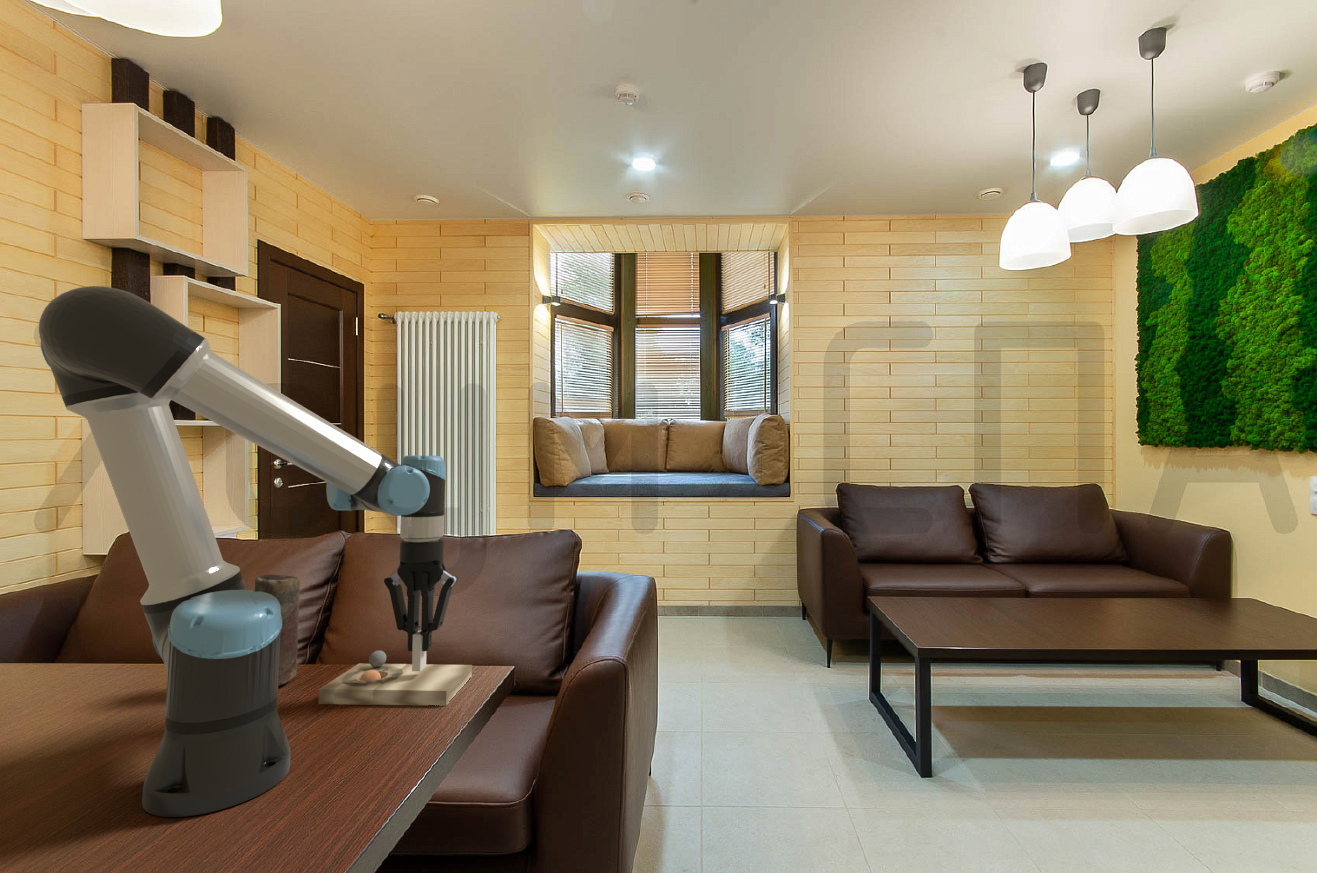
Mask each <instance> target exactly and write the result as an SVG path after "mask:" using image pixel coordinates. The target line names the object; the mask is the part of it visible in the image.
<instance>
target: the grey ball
mask: <svg viewBox="0 0 1317 873" xmlns="http://www.w3.org/2000/svg"><path fill="white" fill-rule="evenodd" d="M386 661H387V654H386V653H385V652H384V651H383V650H380V649H379V650H375V651H373V652H372V653H371V654H370V655H369V657H368V664H370V665H371V666H373V667H380V666H382V665H383V664H386Z"/></svg>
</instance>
